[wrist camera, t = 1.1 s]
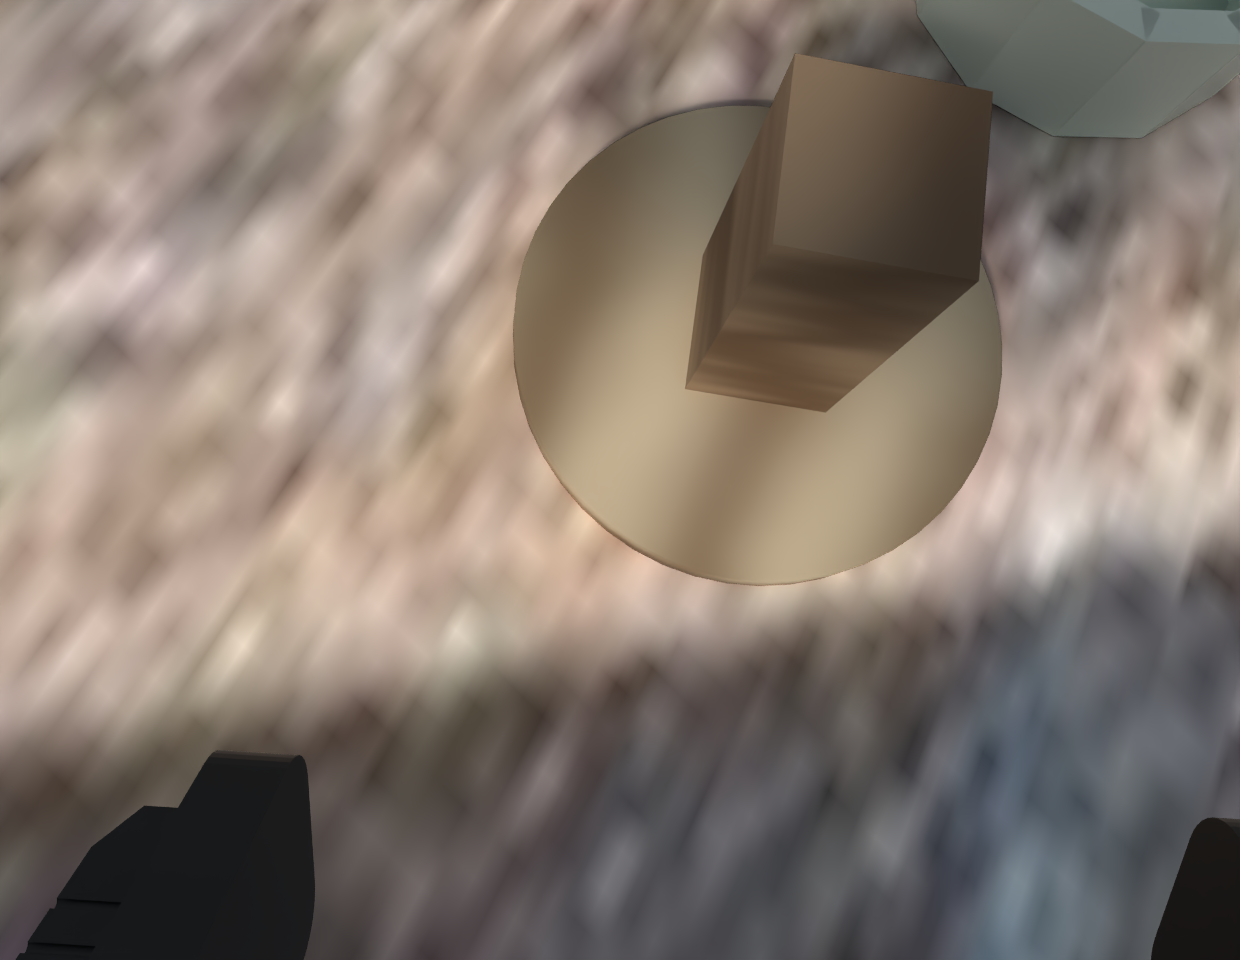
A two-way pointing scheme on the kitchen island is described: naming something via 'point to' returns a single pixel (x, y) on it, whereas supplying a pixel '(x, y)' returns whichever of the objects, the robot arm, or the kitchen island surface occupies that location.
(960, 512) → the kitchen island surface
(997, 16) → the bowl
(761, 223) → the lid
